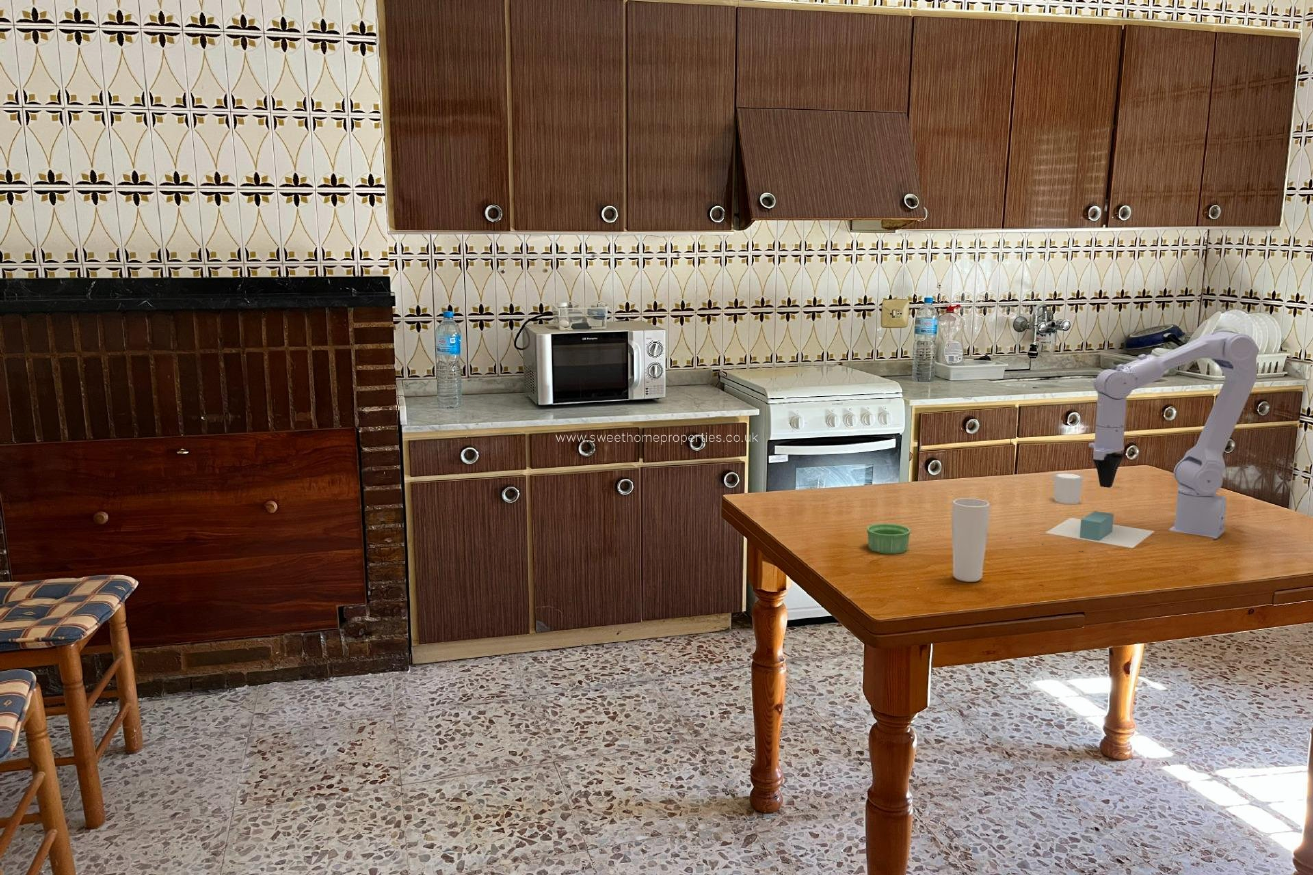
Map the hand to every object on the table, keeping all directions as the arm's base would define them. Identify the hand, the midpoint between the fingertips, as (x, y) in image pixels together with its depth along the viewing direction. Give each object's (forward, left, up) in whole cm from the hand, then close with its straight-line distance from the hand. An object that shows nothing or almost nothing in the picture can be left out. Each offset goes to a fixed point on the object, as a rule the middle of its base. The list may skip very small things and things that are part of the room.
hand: (1105, 486), depth 221 cm
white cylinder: (+15, -20, -11) cm, 27 cm away
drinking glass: (+10, +49, -11) cm, 51 cm away
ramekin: (+31, +41, -11) cm, 52 cm away
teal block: (0, +1, -8) cm, 8 cm away
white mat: (0, +3, -10) cm, 11 cm away
